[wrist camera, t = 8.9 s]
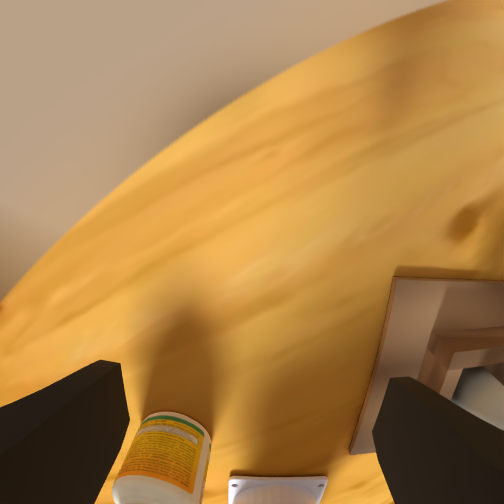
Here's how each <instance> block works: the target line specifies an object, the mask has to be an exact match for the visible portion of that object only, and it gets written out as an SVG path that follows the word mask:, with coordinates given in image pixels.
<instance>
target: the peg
mask: <svg viewBox="0 0 504 504" xmlns="http://www.w3.org/2000/svg"><path fill="white" fill-rule="evenodd" d="M451 401H452V402H453V403H455V404H457V405H458V406H460V407H461V408H463V409H465V410H466V411H468V412H470V413H472V414H473V415H475V416H477V417H479V418H480V419H482V420H484V421H486V422H488V423H490V424H492V425H494V426H496V427H498V428H500V429H502V430H504V386H503V385H502V384H501V383H500V382H499V381H498V380H497V379H496V378H495V377H494V376H493V375H492V374H491V373H490V372H488V371H487V370H486V369H485V368H484V367H483V366H478V367H471V368H464V369H463V370H462V373H461V375H460V378H459V381H458V383H457V386H456V388H455V391H454V393H453V396H452V398H451Z"/></svg>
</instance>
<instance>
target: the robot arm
mask: <svg viewBox="0 0 504 504" xmlns="http://www.w3.org/2000/svg"><path fill="white" fill-rule="evenodd" d="M129 421H130V417H129V412H128V407H127V401H126V396H125V390H124V384H123V377H122V371H121V364H120V363H116V362H110V361H105V360H99V361H96V362H94V363H92V364H90V365H88V366H86V367H84V368H82V369H80V370H78V371H76V372H74V373H72V374H70V375H69V376H67V377H65V378H63V379H61V380H59V381H57V382H55V383H53V384H51V385H49V386H47V387H45V388H43V389H41V390H39V391H37V392H35V393H33V394H30V395H28V396H26V397H24V398H22V399H19V400H17V401H15V402H13V403H10V404H8V405H5V406H3V407H0V504H94V503H95V501H96V499H97V497H98V495H99V493H100V490H101V488H102V486H103V484H104V482H105V480H106V478H107V476H108V474H109V472H110V470H111V468H112V466H113V464H114V462H115V460H116V458H117V456H118V453H119V451H120V449H121V446H122V443H123V440H124V437H125V434H126V431H127V428H128V425H129ZM372 435H373V440H374V445H375V449H376V453H377V457H378V461H379V464H380V467H381V469H382V472H383V474H384V477H385V480H386V482H387V485H388V487H389V490H390V492H391V495H392V497H393V500H394V502H395V504H504V430H502V429H500V428H498V427H496V426H494V425H492V424H490V423H488V422H486V421H484V420H482V419H480V418H479V417H477V416H475V415H473V414H472V413H470V412H468V411H466V410H465V409H463V408H461V407H460V406H458V405H457V404H455V403H453V402H452V401H450V400H448V399H447V398H445V397H444V396H442V395H440V394H439V393H437V392H436V391H434V390H432V389H431V388H429V387H428V386H426V385H424V384H423V383H421V382H419V381H417V380H415V379H413V378H411V377H409V376H406V377H393V378H390V379H389V382H388V386H387V389H386V392H385V395H384V398H383V401H382V404H381V407H380V410H379V413H378V416H377V419H376V422H375V424H374V427H373V430H372ZM327 483H328V478H327V477H326V476H313V477H249V476H231V477H229V486H228V504H319V503H320V501H321V498H322V496H323V493H324V491H325V488H326V485H327Z"/></svg>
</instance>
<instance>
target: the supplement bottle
mask: <svg viewBox="0 0 504 504" xmlns="http://www.w3.org/2000/svg"><path fill="white" fill-rule="evenodd" d="M210 452H211V439H210V436H209V434H208V432H207V431H206V430H205V428H204V427H203V426H202V425H201V424H199V423H198V422H196V421H195V420H193V419H191V418H189V417H187V416H185V415H183V414H179V413H176V412H157V413H154V414H151V415H149V416H148V417H146V418H145V419H144V420H143V422H142V423H141V425H140V427H139V429H138V431H137V433H136V436H135V438H134V440H133V442H132V444H131V447H130V449H129V451H128V453H127V455H126V457H125V460H124V462H123V465H122V467H121V469H120V471H119V473H118V475H117V477H116V479H115V481H114V485H113V488H112V496H113V499H114V501H115V503H116V504H202V499H203V494H204V488H205V481H206V475H207V470H208V464H209V458H210Z"/></svg>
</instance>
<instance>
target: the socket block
mask: <svg viewBox="0 0 504 504" xmlns="http://www.w3.org/2000/svg"><path fill="white" fill-rule="evenodd" d="M478 366H483V367H484V368H485V369H486V370H487V371H488V372H490V373H491V374H492V375H493V376H494V377H495V378H496V379H497V380H498V381H499V382H500V383H501V384H502V385H503V386H504V281H493V280H463V279H436V278H412V277H393V281H392V287H391V292H390V298H389V303H388V308H387V313H386V318H385V323H384V327H383V332H382V336H381V341H380V345H379V349H378V353H377V357H376V361H375V365H374V369H373V373H372V377H371V380H370V384H369V387H368V391H367V394H366V398H365V401H364V404H363V408H362V411H361V414H360V417H359V420H358V423H357V427H356V430H355V433H354V435H353V438H352V441H351V444H350V447H349V453H350V455H356V454H366V453H374V452H376V449H375V445H374V440H373V435H372V430H373V427H374V424H375V422H376V419H377V416H378V413H379V410H380V407H381V404H382V401H383V398H384V395H385V392H386V389H387V386H388V382H389V379H390V378H393V377H406V376H409V377H411V378H413V379H415V380H417V381H419V382H421V383H423V384H424V385H426V386H428V387H429V388H431V389H432V390H434V391H436V392H437V393H439V394H440V395H442V396H444V397H445V398H447V399H448V400H450V401H451V398H452V396H453V393H454V391H455V388H456V386H457V383H458V381H459V378H460V375H461V373H462V370H463V369H464V368H471V367H478Z"/></svg>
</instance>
